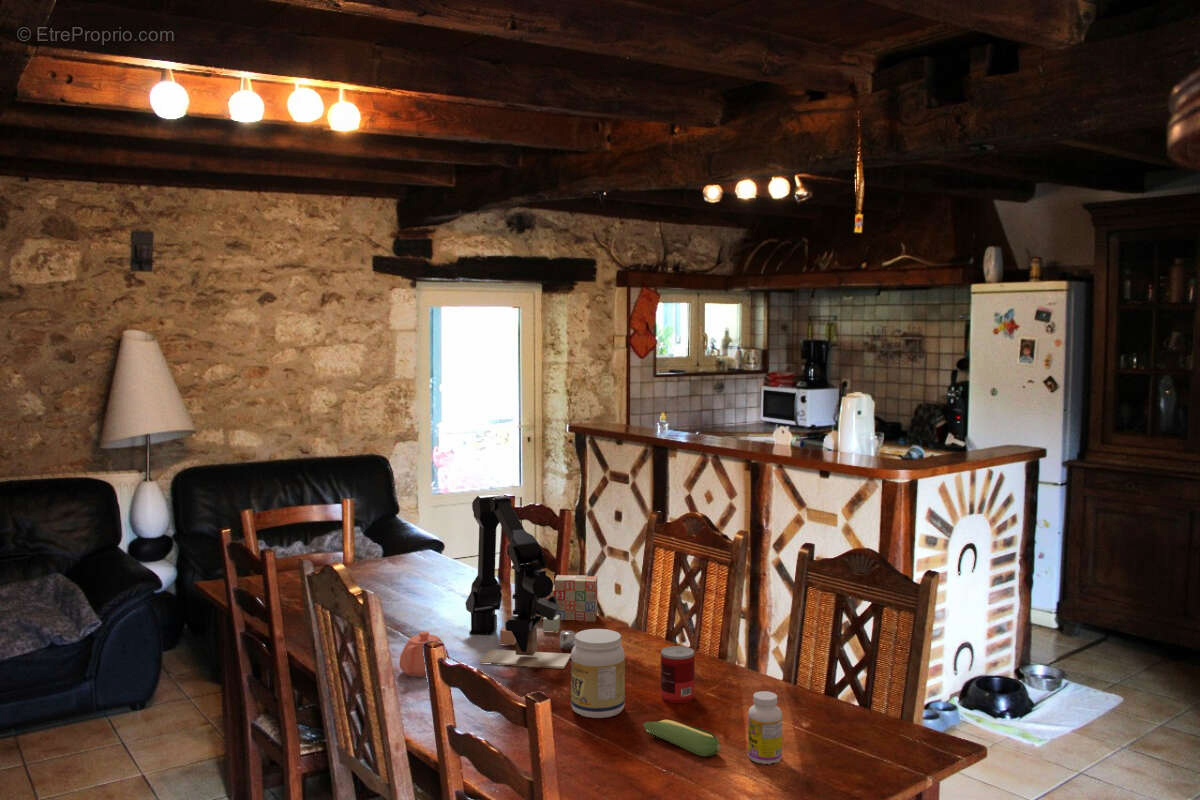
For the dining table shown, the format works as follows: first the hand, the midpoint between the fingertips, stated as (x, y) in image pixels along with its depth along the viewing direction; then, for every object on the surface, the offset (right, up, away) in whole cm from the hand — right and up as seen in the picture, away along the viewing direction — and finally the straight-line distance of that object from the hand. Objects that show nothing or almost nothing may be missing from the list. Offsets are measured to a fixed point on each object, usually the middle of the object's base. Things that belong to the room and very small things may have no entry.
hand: (526, 648), depth 254 cm
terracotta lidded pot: (-25, -4, -10) cm, 27 cm away
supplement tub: (+19, -5, -33) cm, 39 cm away
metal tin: (+10, -2, +11) cm, 15 cm away
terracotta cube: (-6, -2, +14) cm, 15 cm away
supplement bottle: (+52, -7, -59) cm, 79 cm away
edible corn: (+36, -7, -52) cm, 64 cm away
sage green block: (+5, -1, +26) cm, 26 cm away
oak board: (0, -3, 0) cm, 3 cm away
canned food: (+37, -5, -26) cm, 46 cm away
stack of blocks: (+7, -1, +38) cm, 39 cm away
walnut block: (0, -1, 0) cm, 1 cm away
